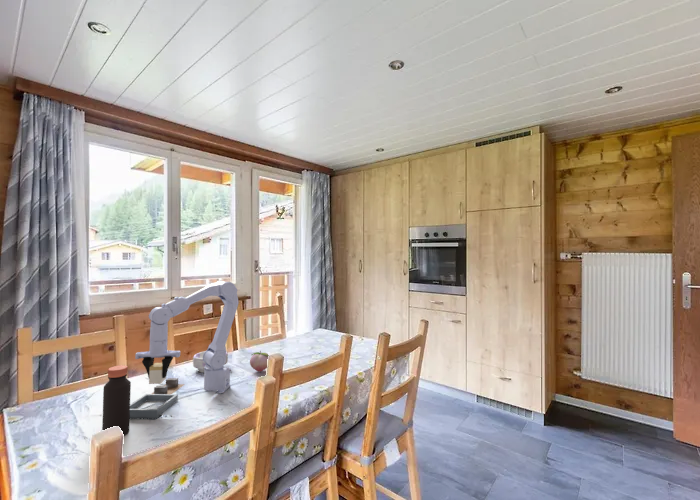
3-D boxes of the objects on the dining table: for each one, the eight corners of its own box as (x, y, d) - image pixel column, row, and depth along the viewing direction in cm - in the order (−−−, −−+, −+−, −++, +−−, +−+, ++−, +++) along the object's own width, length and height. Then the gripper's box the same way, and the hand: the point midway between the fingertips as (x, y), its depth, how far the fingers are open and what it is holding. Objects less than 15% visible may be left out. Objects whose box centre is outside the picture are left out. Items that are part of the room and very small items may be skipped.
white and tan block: (165, 378, 125) (166, 362, 125) (161, 383, 120) (161, 366, 120) (154, 379, 124) (154, 362, 124) (149, 384, 119) (149, 367, 119)
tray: (177, 402, 123) (177, 394, 123) (157, 419, 110) (157, 410, 110) (145, 402, 123) (145, 394, 123) (121, 418, 110) (121, 409, 110)
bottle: (98, 442, 96) (101, 372, 96) (105, 431, 102) (107, 365, 102) (126, 437, 98) (128, 369, 99) (131, 427, 105) (133, 363, 105)
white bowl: (188, 369, 159) (189, 352, 159) (220, 363, 169) (220, 347, 169) (198, 378, 147) (199, 360, 148) (232, 371, 158) (232, 354, 158)
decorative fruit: (272, 369, 161) (273, 348, 161) (266, 375, 153) (267, 353, 153) (253, 368, 162) (254, 347, 162) (247, 374, 153) (247, 352, 154)
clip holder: (184, 386, 138) (184, 377, 138) (167, 400, 125) (167, 389, 125) (165, 386, 138) (165, 376, 138) (146, 399, 125) (146, 389, 125)
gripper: (183, 337, 128) (182, 372, 127) (141, 338, 125) (140, 374, 124) (177, 341, 121) (176, 379, 120) (133, 342, 118) (131, 381, 117)
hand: (157, 377), depth 122 cm, fingers closed on white and tan block, 4 cm apart
